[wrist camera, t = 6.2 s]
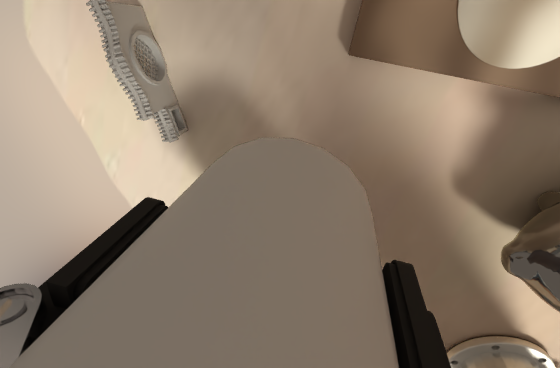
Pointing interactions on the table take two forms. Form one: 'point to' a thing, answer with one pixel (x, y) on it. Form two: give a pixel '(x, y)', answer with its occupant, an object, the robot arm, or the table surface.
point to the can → (240, 276)
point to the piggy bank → (538, 251)
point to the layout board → (466, 39)
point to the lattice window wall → (139, 65)
